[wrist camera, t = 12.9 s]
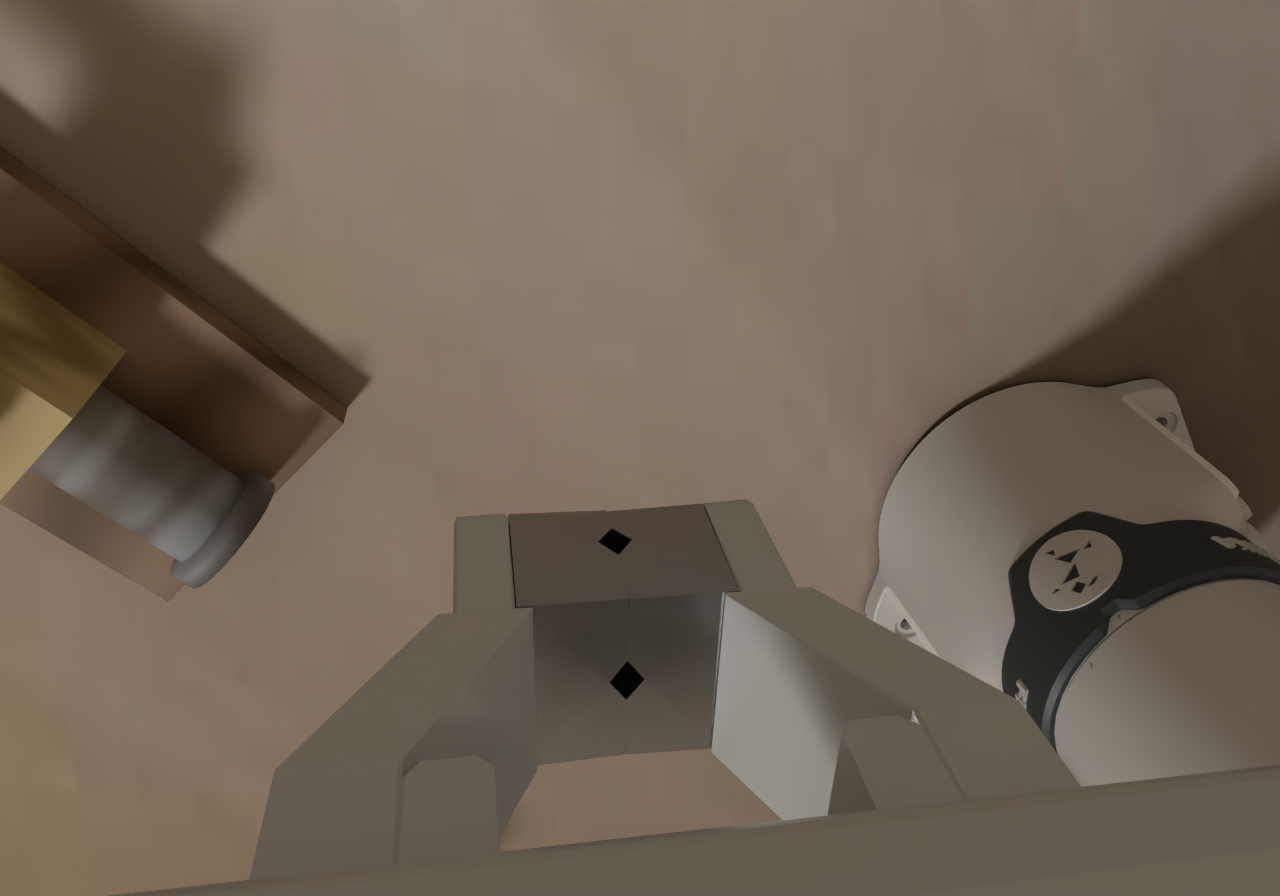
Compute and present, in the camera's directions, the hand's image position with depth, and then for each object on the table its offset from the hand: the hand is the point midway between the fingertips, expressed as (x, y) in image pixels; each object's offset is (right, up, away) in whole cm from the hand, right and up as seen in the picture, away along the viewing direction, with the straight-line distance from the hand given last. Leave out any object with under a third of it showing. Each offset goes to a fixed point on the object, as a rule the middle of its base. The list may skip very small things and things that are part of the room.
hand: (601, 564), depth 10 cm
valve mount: (-24, +5, +28) cm, 38 cm away
